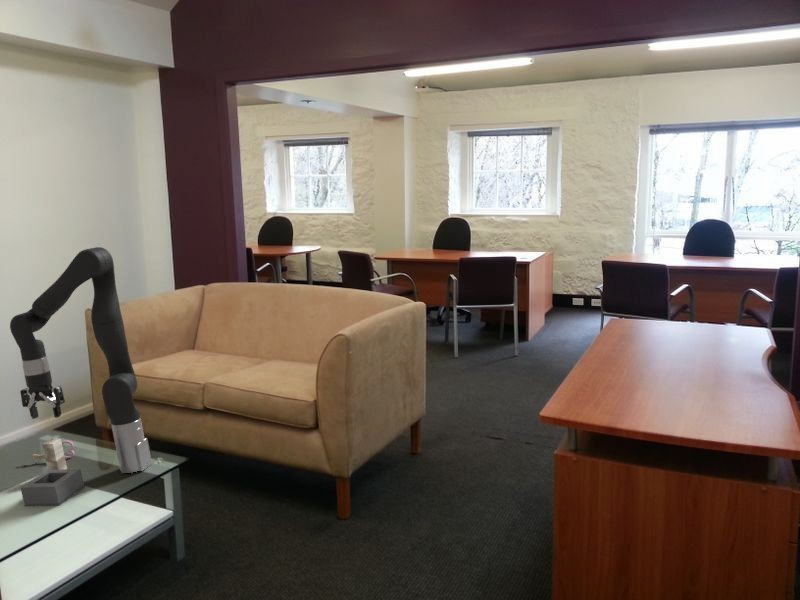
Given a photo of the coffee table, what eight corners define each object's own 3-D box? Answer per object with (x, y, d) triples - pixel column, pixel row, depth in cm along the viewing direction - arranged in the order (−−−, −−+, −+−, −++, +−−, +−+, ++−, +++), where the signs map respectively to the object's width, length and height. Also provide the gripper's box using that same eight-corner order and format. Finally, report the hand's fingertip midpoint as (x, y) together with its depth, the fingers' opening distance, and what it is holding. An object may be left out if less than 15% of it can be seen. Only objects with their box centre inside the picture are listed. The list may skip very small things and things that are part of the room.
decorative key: (21, 473, 231) (78, 455, 234) (20, 474, 230) (77, 456, 233) (14, 456, 230) (71, 438, 233) (13, 458, 228) (70, 439, 231)
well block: (84, 487, 206) (80, 468, 205) (59, 505, 194) (55, 486, 193) (51, 487, 208) (47, 469, 207) (24, 506, 196) (20, 487, 195)
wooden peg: (67, 471, 220) (60, 439, 218) (59, 477, 216) (52, 443, 214) (57, 472, 221) (50, 439, 219) (49, 477, 217) (42, 444, 215)
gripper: (63, 366, 215) (72, 412, 217) (26, 369, 217) (35, 414, 220) (48, 373, 207) (57, 420, 210) (9, 375, 210) (19, 422, 213)
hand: (46, 417), depth 215 cm, fingers open, 8 cm apart
